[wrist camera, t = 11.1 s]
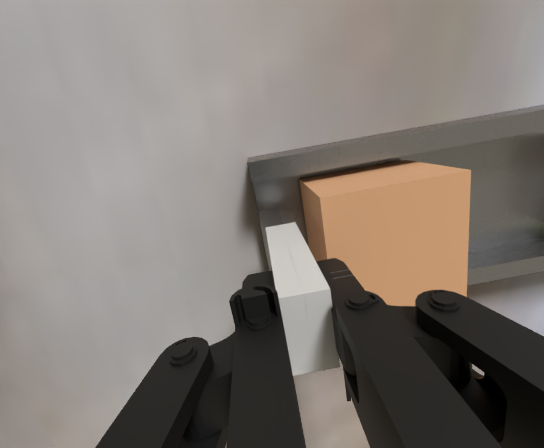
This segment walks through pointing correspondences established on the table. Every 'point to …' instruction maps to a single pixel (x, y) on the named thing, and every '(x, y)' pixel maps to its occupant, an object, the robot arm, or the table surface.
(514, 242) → the base
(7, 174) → the table surface
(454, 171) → the tan cardboard-like brick
